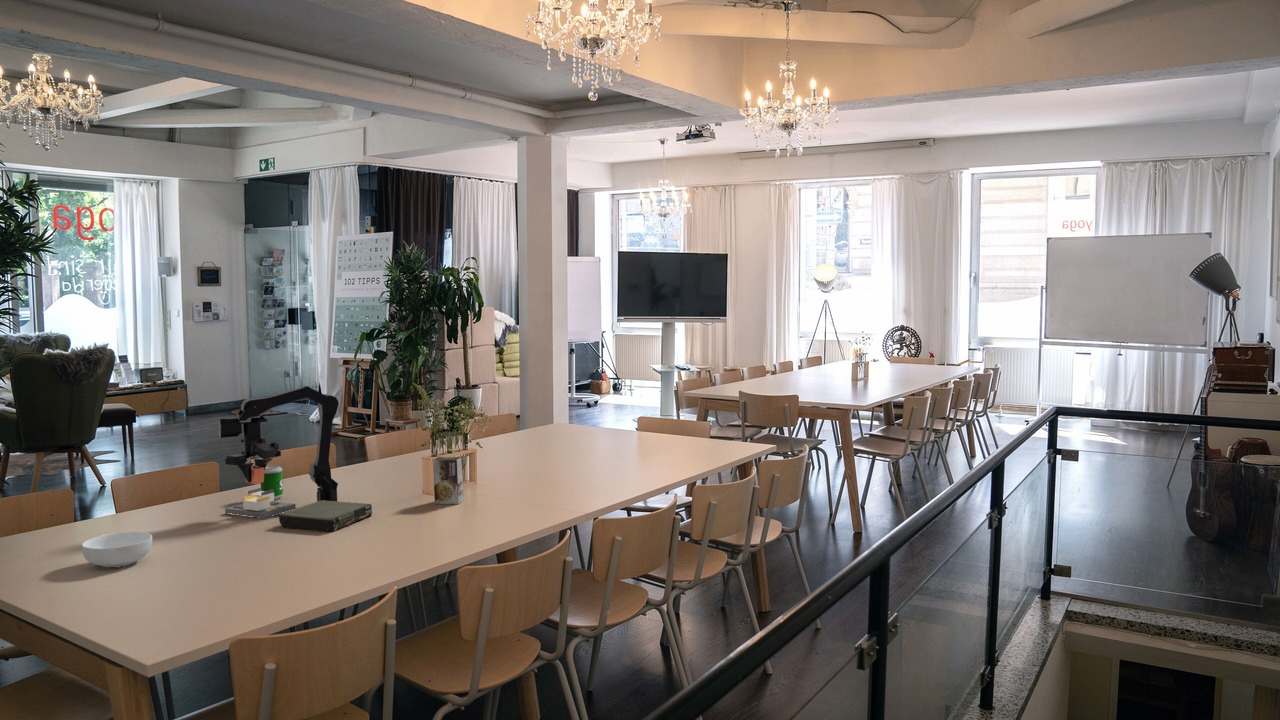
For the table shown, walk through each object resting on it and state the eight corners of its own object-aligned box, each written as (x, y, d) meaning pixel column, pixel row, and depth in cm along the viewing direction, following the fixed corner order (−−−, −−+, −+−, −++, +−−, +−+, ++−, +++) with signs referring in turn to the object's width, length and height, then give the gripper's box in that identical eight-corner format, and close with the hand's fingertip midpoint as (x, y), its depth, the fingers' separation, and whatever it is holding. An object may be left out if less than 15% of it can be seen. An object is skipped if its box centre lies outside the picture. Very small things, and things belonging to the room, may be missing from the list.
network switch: (339, 534, 274) (339, 518, 274) (273, 531, 279) (272, 515, 278) (376, 515, 297) (375, 501, 296) (314, 513, 301) (313, 499, 301)
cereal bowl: (74, 576, 234) (72, 550, 234) (94, 558, 250) (92, 534, 250) (144, 569, 239) (143, 544, 239) (159, 552, 255) (158, 529, 255)
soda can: (278, 501, 318) (276, 468, 318) (257, 501, 319) (256, 469, 318) (286, 496, 326) (285, 464, 325) (266, 496, 326) (265, 465, 325)
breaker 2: (270, 507, 299) (269, 496, 298) (258, 510, 294) (257, 499, 294) (255, 505, 302) (254, 494, 301) (243, 509, 297) (242, 497, 297)
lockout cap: (263, 481, 298) (264, 466, 298) (254, 484, 295) (254, 468, 294) (255, 479, 300) (255, 463, 299) (245, 482, 296) (246, 466, 296)
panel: (295, 509, 305) (295, 502, 305) (263, 519, 293) (263, 511, 292) (258, 505, 313) (258, 498, 313) (225, 514, 300) (225, 506, 300)
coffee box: (464, 500, 316) (462, 456, 315) (458, 504, 310) (457, 459, 308) (439, 499, 317) (438, 456, 316) (433, 504, 310) (432, 459, 309)
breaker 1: (274, 500, 309) (273, 489, 308) (262, 503, 304) (262, 492, 304) (260, 499, 312) (259, 488, 311) (248, 502, 307) (248, 490, 307)
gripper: (247, 441, 284) (249, 488, 286) (291, 432, 301) (293, 477, 302) (222, 439, 289) (225, 485, 290) (268, 431, 306) (270, 475, 307)
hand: (254, 481), depth 297 cm, fingers closed on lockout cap, 4 cm apart
